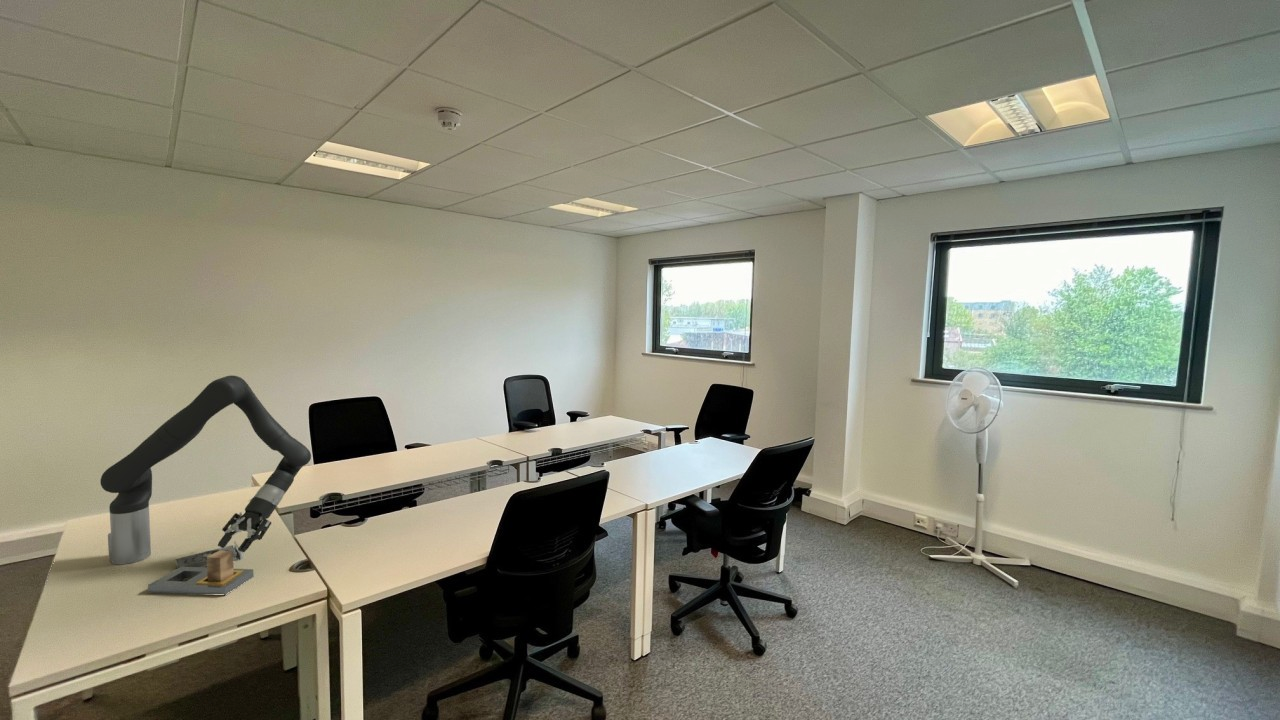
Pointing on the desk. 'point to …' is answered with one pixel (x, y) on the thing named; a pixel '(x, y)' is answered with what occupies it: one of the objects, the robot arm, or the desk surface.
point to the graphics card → (201, 558)
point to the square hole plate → (197, 582)
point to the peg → (220, 566)
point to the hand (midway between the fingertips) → (230, 548)
